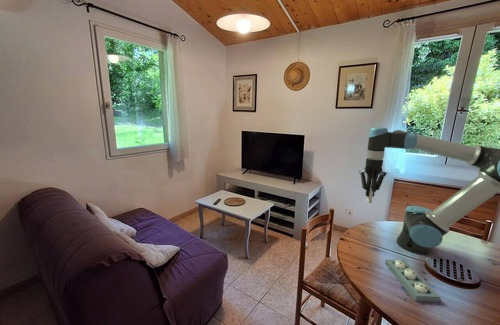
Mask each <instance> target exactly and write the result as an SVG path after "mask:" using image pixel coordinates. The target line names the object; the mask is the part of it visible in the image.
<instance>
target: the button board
mask: <svg viewBox="0 0 500 325" xmlns="http://www.w3.org/2000/svg"><path fill="white" fill-rule="evenodd" d="M396 260H397V259H387V258H386V259H385V262H384V265H385V266H386V267H387V268H388V270H390V272H391V274H393V276H394V277H395V278H396V279H397V281H398V282H399V283H400V284H401V285H402V287H403V288H404V290H406V291H407V293H408V294H409V295H410V296H411V298H412V299H413V300H414V301H415V302H430V303H431V302H433V303H439V302H440V298H441V296H440V295H439V294H438V293H437V292H436V291H435V290H434V289H433V288H432V287H431V286H430V285H429V283H427V282H426V281H425V280H424V278H422V277H421V276H420V274H419V273H418V272H417V271H416V270H415V269H414V268H413V267H412V266H411V265H410V264H409V263H408V262H407V261H406V260H405V259H399V260H400V261H403V262H404V263H405V264H406V267H405V269H407V268H408V269H412V270H414V271H415V272H416V273H417V274H416V279H415V280H407V279H406V278H405V276H404V272H405V269H398V268H397V267H396V266H395V261H396ZM416 282H420V283H423V284H425V285H426V286H427V287H428V291H427V293H418V291H417V290H416V289H415V288H414V287H415V283H416Z"/></svg>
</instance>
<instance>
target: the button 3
mask: <svg viewBox="0 0 500 325" xmlns="http://www.w3.org/2000/svg"><path fill="white" fill-rule="evenodd" d="M414 288H415V289H416V290H417V291H418V293H427V291H428V287H427V286H426V285H425V284H423V283H420V282H416V283H415V287H414Z"/></svg>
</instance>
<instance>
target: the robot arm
mask: <svg viewBox="0 0 500 325" xmlns="http://www.w3.org/2000/svg"><path fill="white" fill-rule="evenodd" d="M368 135H369V136H368V143H367V150H366V151H367V152H366V159H365V167H364V169H363V170H360V171H359V172H358V173H359V175H360V179H361V180H360V181H361V185H362V186H361V187H362V189H363V190H364V191H365V196H366V198H365V199H366V200H365V201H366V202H367V203H368V204H372V203H373V197H375V193H376V192H377V191H380V188H381V185H382V183H383V182H384V179H385V177H386V176H387V174H388V172H385V171H384V170H383V165H384V157H385V149H386V148H388V149H389V148H391V149H402V150H417V151H420V152H424V153H428V154H431V155H437V156H440V157H444V158H449V159H453V160H457V161H459V162H465V163H466V164H467V165H468V166H471V167H475V168H478V171H477V172H478V174H477V176H476V177H475V178H474V179H472V180H471V181H470V182H469V183H467V184H465V186H463V187H462V188H460V190H458V191H457V192H455V193H454V194H453V195H452V196H450V197H449V198H448V199H446V200H445V201H443V203H441V204H440V205H438V206H437V207H436V208H434V209H433V210H431V209H429V208H427V207H423V206H419V205H408V206H407V207H406V208H405V213H404V219H403V225H402V229H401V232H400V233H399V235H398V236H397V237H396V244H397V245H398V247H400V248H401V249H403V250H405V251H407V252H410V253H412V254H417V255H428V254H430V253H431V252H430V251H431V248H436V247H438V246H440V245H441V244H442V243H443V242H442V241H443V237H444V236H445V235H447V234H448V233H449V232H450V227H451V226H452V225H453V224H455V223H456V222H458V221H459V220H461V219H462V218H463V217H465V216H466V215H467V214H469V213H470V212H472V211H473V210H475V209H476V208H478V207H479V206H480V205H482V204H483V203H485V202H486V201H488V200H490V198H492V197H494V196H495V195H496V194H497V193H499V192H500V148H495V147H489V146H483V145H479V144H478V145H475V146H471V145H469V144H468V145H467V144H462V143H458V142H453V141H449V140H443V139H440V138H436V137H431V136H427V135H423V134H417V133H413V132H408V131H404V130H401V129H396V130H393V131H389V129H388V128H387V127H377V126H376V127H375V126H374V127H371V128H370V130H369V134H368Z"/></svg>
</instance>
